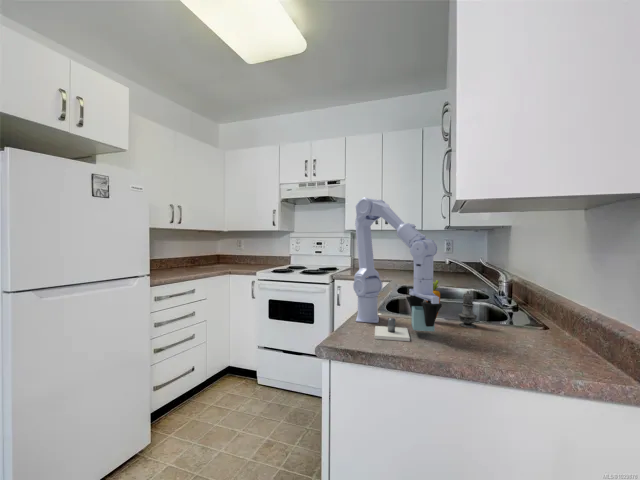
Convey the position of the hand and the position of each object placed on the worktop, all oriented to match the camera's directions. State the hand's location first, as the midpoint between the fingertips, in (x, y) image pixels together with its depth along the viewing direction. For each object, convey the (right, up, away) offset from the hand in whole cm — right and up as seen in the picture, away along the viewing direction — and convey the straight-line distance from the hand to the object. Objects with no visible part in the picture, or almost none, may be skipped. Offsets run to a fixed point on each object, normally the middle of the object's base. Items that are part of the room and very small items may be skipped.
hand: (422, 322), depth 94 cm
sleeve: (0, -2, 0) cm, 2 cm away
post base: (-10, -4, 0) cm, 10 cm away
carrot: (+9, -4, +15) cm, 17 cm away
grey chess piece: (+19, -4, +10) cm, 22 cm away
